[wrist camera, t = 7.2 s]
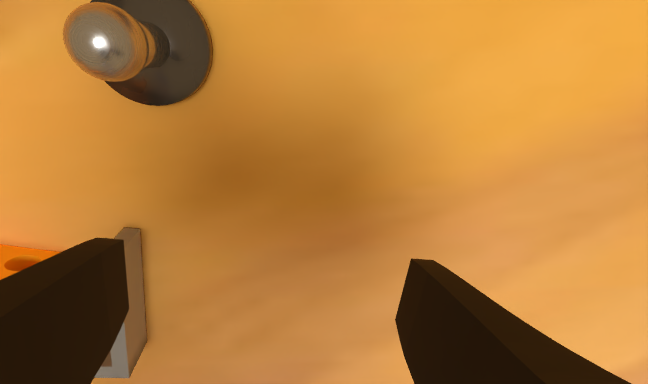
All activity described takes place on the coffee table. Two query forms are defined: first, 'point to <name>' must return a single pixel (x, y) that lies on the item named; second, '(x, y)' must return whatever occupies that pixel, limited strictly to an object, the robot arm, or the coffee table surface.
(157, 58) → the ball stud
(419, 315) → the robot arm
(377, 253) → the coffee table surface
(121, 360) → the u-shaped bracket
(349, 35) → the coffee table surface
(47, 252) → the pipe clamp
